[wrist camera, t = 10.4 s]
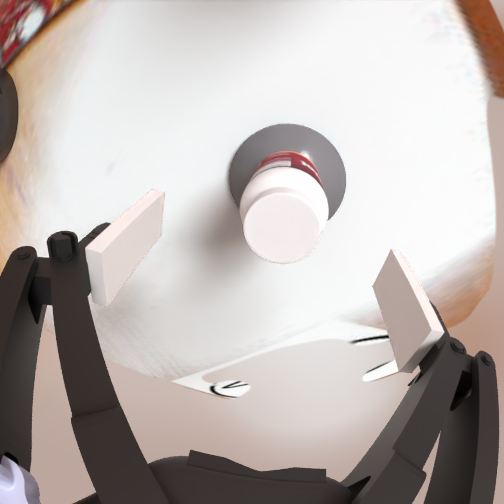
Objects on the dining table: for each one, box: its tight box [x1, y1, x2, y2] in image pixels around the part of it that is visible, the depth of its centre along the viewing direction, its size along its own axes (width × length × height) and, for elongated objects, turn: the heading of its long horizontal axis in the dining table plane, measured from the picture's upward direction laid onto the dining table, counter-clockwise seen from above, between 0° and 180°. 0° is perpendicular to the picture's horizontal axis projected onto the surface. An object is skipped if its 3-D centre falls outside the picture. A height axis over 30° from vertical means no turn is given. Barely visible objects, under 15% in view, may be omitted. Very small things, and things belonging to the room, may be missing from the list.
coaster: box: [230, 124, 346, 221], centre depth 27 cm, size 11×11×1 cm
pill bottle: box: [240, 151, 329, 264], centre depth 22 cm, size 6×6×11 cm
